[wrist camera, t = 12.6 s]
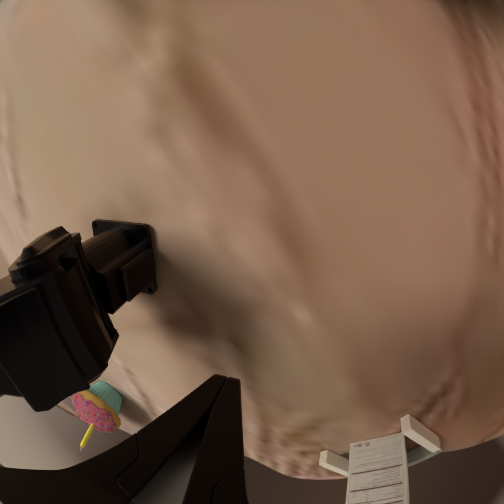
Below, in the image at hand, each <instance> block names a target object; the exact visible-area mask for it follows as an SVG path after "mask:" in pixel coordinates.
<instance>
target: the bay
mask: <svg viewBox="0 0 504 504" xmlns="http://www.w3.org/2000/svg"><path fill="white" fill-rule="evenodd" d="M400 422H401V431H402V434H404V435H405V436H407V437H408V438H410V439H412V440H413V441H415V442H416V443H418V444H419V445H421V446H419V447H417V448H415V449H413V450H410V451H408V452H406V455H407V465H408V467H410V466H412V465H415V464H417V463H419V462H422V461H424V460H426V459H428V458H430V457H432V456H434V455H437V454H439V453H441V452H443V445H442V439H441V438H440V437H438V436H437V435H436V434H434V433H433V432H432V431H431V430H429V429H428V428H427V427H425V426H424V425H423V424H421V423H420V422H419V421H418V420H416V419H415V418H414V417H412V416H411V415H410V414H407V415H405V416H403V417H402V418H400ZM319 465H320V466H322V467H325V468H327V469H329V470H332V471H334V472H336V473H339V474H341V475H344V476H347V477H348V470H349V460H348V459H346V458H344V457H342V456H340V455H338V454H336V453H333V452H331V451H329V450H325V451H322V452H321V453H320V461H319Z"/></svg>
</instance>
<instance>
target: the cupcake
mask: <svg viewBox="0 0 504 504" xmlns="http://www.w3.org/2000/svg"><path fill="white" fill-rule="evenodd" d="M72 402H73V406H74V410H75V411H76V413H77V415H78V417H79V418H80V419H82V420H83V421H84V422H85V423H86V424H87V425H89V426H90V427H89V429H88V430H87V433H86V434H85V436H84V438H83V440H82V442H81V444H80V446H81V449H80V451H81V450H82V448H84V447H85V444H86V443H87V440H88V439H89V437H90V435H91V433H92V431H93V429H96V430H99V431H101V432H106V433H107V432H110V433H111V432H114V431H116V430H117V429H118V428H119V426H120V425H121V420H120V418H119V411H120V407H121V403H122V397H121V396H120V394H119V393H118V392H117V391H116V390H115V389H114V388H113V387H112V386H110V385H109V384H107V383H105V382H101V381H100V382H98V383H96V384H94V385H93V386H91V387H90V388H89V389H88V390H85V391H81V392H77V393H75V394H73V395H72Z"/></svg>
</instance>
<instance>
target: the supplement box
mask: <svg viewBox="0 0 504 504" xmlns="http://www.w3.org/2000/svg"><path fill="white" fill-rule="evenodd" d="M345 504H409V480H408V465H407V455H406V446H405V437H404V434H402V432H400V433H396V434H392V435H388V436H383V437H379V438H374V439H369V440H364V441H358V442H353V443H350V449H349V470H348V483H347V494H346V503H345Z"/></svg>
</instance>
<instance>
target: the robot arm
mask: <svg viewBox="0 0 504 504" xmlns="http://www.w3.org/2000/svg"><path fill="white" fill-rule="evenodd" d="M92 228H93V235H94V237H92V238H90V239H88V240H87V241H85V242H83V243H81V240H82V239H81V236H80V233H79V232H78V233H73V234H71V233H69V232H67V231H66V230H65V229H64V228H63V227H62V226H60V227H57V228H55V229H53V230H51V231H48V232H47V233H45V234H43V235H41V236H39V237H38V238H36V239H35V240H34V241H33V242H31V243H30V244H29V245H27V246H26V247H25V248H24V249H23V251H22V254H21V255H20V256H19V257H18V258H17V259H16V260H15V262H14V263H13V264H12V265H11V266H10V267H9V269H8V271H9V274H10V275H8V276H6V277H5V278H3V279H1V280H0V397H1V396H4V395H9V396H16V397H23V398H24V399H25V400H26V401H27V403H28V404H29V405H30V406H31V407H32V409H33V410H34V411H36V412H40V411H47V410H50V409H51V408H53V407H54V406H55V405H57V404H58V403H59V402H61V401H62V400H64V399H65V398H67V397H69V396H71V395H73V394H75V393H77V392H81V391H85V390H88V389H89V388H90V385H89V384H90V383H92V382H93V381H95V380H96V379H97V378H98V377H100V375H101V374H102V373H103V372H104V371H105V370H106V368H107V366H108V360H109V358H110V356H111V353H112V351H113V349H114V346H115V344H116V342H117V340H118V337H119V334H118V332H117V330H116V329H115V328H114V326H113V324H112V321H111V319H110V317H109V315H108V313H109V314H114V313H115V312H116V311H117V310H118V309H119V308H120V307H121V306H122V305H123V304H124V303H126V302H127V301H128V302H130V301H131V300H132V299H133V298H134V297H135V296H137V295H138V294H139V293H140V292H143V293H147V294H154V293H155V292H156V291H157V285H156V273H155V265H154V257H153V251H152V244H151V233H150V228H149V226H148V225H147V224H142V223H132V222H122V221H112V220H101V219H96V220H94V221H93V222H92ZM143 229H144V230H145V232H144V231H143ZM151 288H152V289H151ZM244 468H245V464H244V446H243V427H242V407H241V384H240V379H237V378H232V377H228V378H227V376H223V375H219V374H214V375H213V376H212V377H210V378H209V379H208V380H207V381H205V382H204V383H203V384H201V385H200V386H199V387H198V388H196V389H195V390H194V391H193V392H191V393H190V394H189V395H187V396H186V397H185V398H183V399H182V400H181V401H179V402H178V403H177V404H175V405H174V406H173V407H171V408H170V409H169V410H167V411H166V412H165V413H163V414H162V415H161V416H159V417H158V418H156V419H155V420H154V421H152V422H151V423H149V424H148V425H147V426H145V427H144V428H142V429H141V430H139V431H138V432H137V433H135V434H133V435H132V436H131V437H129V438H128V439H126V440H124V441H123V442H121V443H120V444H118V445H116V446H115V447H113V448H111V449H109V450H107V451H105V452H103V453H101V454H99V455H97V456H95V457H93V458H90V459H88V460H86V461H84V462H82V463H79V464H77V465H75V466H72V467H69V468H66V469H61V470H30V469H16V468H6V467H4V466H3V465H1V464H0V504H181V503H182V504H249V501H248V496H247V488H246V480H245V469H244ZM182 501H183V502H182Z"/></svg>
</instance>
